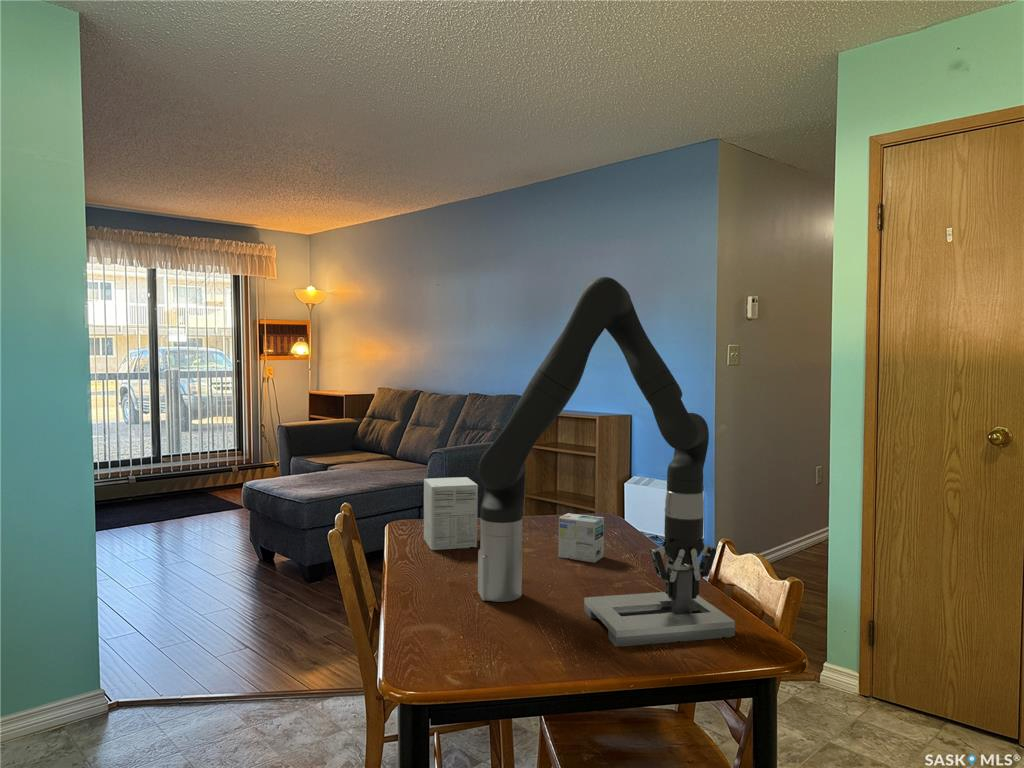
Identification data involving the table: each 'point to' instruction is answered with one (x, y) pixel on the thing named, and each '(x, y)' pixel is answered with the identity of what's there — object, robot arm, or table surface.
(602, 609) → the keyhole plate
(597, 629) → the table surface
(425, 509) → the supplement box
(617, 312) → the robot arm
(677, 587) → the headed peg
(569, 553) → the light bulb box
